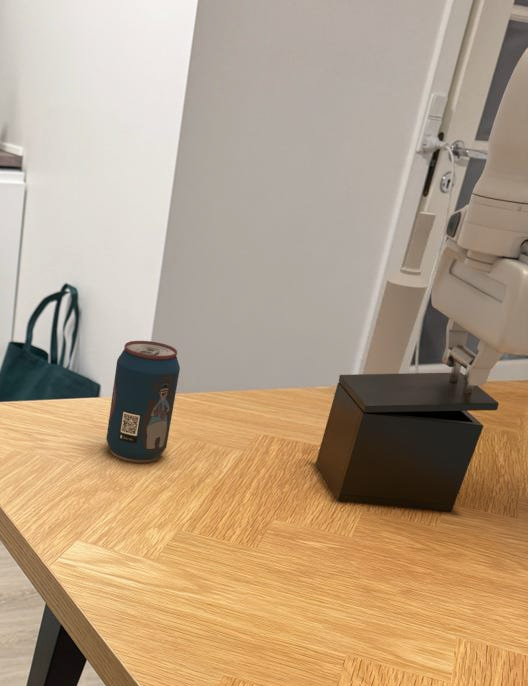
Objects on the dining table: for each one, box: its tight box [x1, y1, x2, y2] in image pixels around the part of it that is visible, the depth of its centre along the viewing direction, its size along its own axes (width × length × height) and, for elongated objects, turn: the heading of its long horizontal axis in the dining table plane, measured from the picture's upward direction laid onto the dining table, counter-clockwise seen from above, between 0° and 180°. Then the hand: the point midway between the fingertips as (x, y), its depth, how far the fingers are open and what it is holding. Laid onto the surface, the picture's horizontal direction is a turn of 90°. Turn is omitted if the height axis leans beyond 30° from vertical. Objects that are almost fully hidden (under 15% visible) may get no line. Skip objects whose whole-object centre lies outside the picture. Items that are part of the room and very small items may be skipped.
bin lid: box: [338, 345, 499, 413], centre depth 94 cm, size 13×11×5 cm
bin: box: [315, 381, 484, 513], centre depth 98 cm, size 13×11×10 cm
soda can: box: [106, 340, 181, 463], centre depth 99 cm, size 7×7×12 cm
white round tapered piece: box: [361, 211, 437, 374], centre depth 121 cm, size 5×5×25 cm
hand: (461, 374), depth 94 cm, fingers closed on bin lid, 5 cm apart
